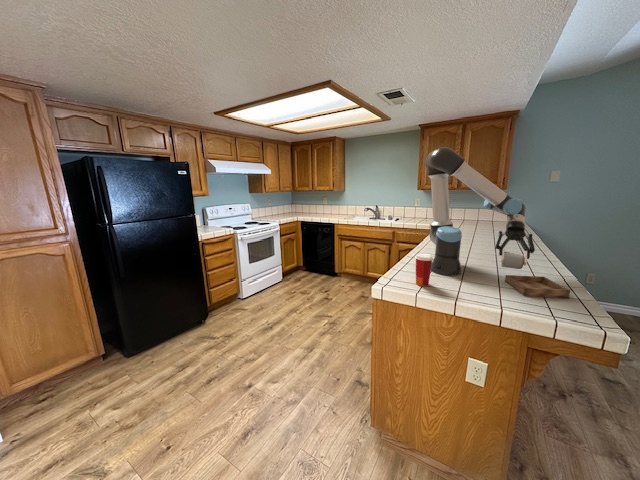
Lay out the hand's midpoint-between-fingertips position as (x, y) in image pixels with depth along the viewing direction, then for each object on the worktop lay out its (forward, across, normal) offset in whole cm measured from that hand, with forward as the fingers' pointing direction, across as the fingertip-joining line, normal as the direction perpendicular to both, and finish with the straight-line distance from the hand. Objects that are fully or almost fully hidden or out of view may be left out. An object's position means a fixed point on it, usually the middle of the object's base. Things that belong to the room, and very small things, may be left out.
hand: (513, 262), depth 122 cm
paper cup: (+26, -36, -11) cm, 46 cm away
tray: (+13, +8, 0) cm, 15 cm away
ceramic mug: (-1, 0, +6) cm, 6 cm away
